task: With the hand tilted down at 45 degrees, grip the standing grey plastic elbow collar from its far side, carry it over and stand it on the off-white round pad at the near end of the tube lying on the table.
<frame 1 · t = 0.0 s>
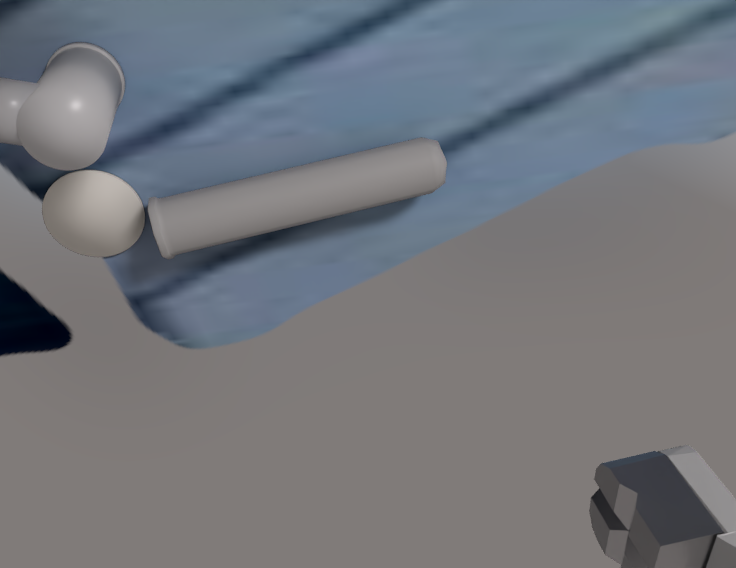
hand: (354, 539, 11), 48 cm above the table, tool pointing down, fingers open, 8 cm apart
tube: (301, 181, 60), on the table
elbow: (86, 79, 51), on the table
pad: (94, 214, 57), on the table
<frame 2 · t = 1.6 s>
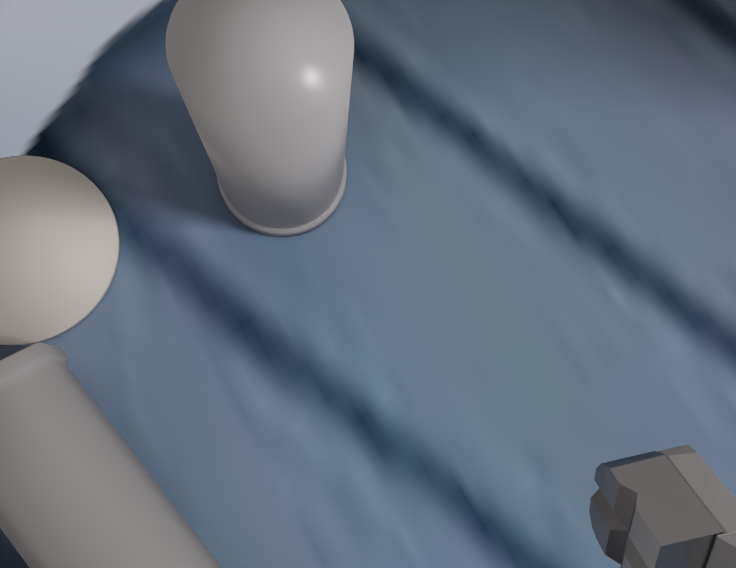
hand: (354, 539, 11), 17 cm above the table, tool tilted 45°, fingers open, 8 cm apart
elbow: (282, 176, 30), on the table
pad: (21, 249, 28), on the table
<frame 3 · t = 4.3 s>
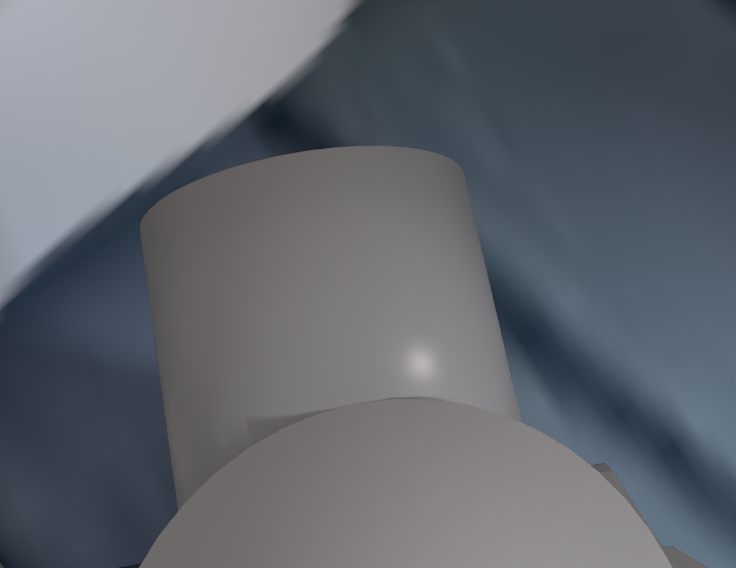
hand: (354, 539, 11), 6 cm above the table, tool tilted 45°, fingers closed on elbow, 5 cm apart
elbow: (340, 527, 16), on the table, touching gripper
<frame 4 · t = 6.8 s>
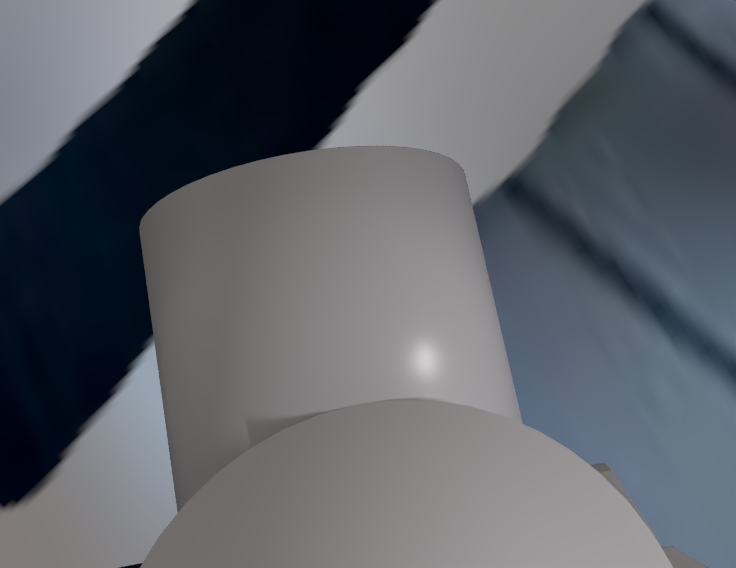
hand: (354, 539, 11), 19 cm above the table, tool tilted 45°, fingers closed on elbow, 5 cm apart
elbow: (341, 528, 16), point 14 cm above the table, touching gripper
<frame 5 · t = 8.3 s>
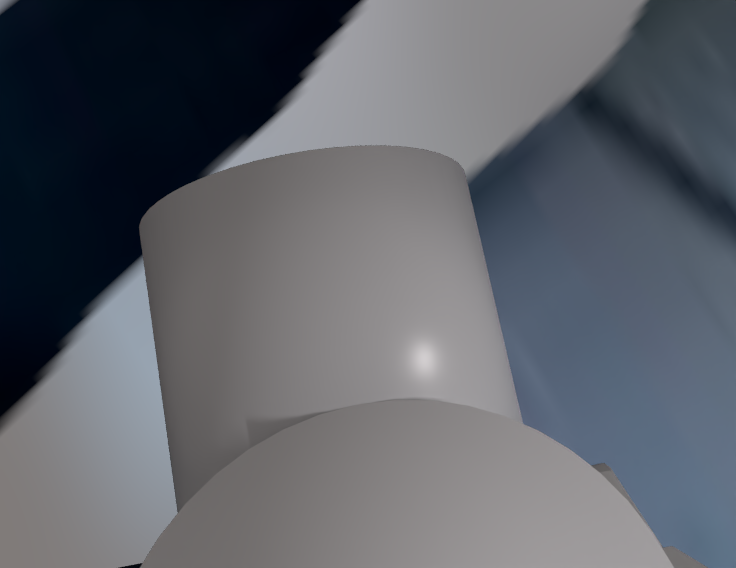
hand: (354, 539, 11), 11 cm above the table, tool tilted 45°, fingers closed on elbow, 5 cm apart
elbow: (341, 528, 16), point 5 cm above the table, touching gripper
when the fingers open (7 cm above the table, at t = 9.4 s): elbow drops 1 cm, resting on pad.
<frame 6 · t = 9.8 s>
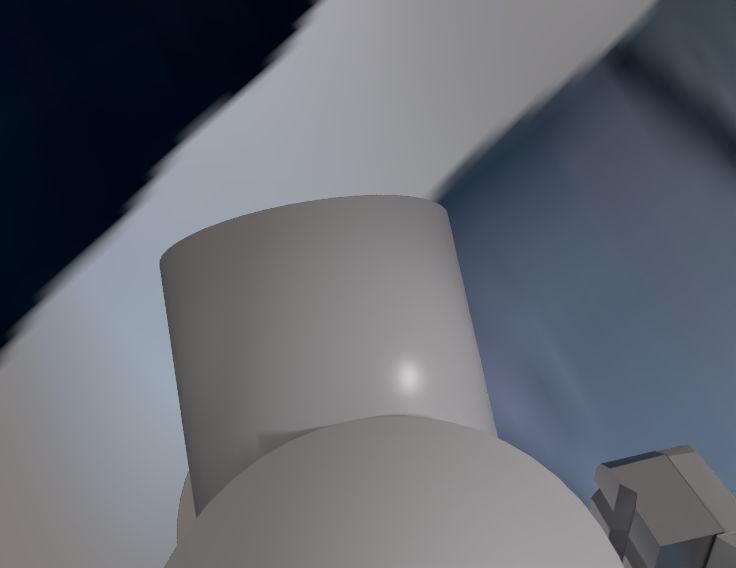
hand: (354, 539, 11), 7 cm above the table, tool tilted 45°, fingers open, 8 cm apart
elbow: (337, 524, 17), resting on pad
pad: (336, 520, 18), on the table
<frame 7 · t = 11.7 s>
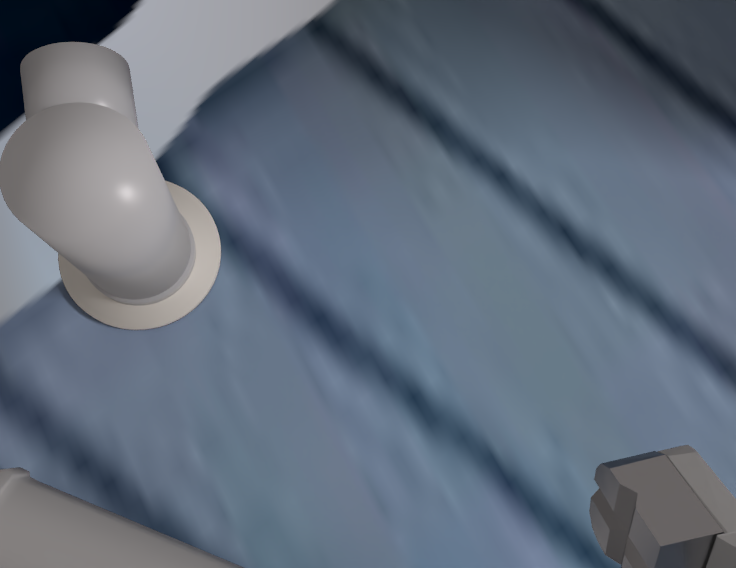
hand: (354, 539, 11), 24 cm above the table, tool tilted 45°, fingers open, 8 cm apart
elbow: (140, 252, 35), resting on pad
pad: (141, 253, 35), on the table
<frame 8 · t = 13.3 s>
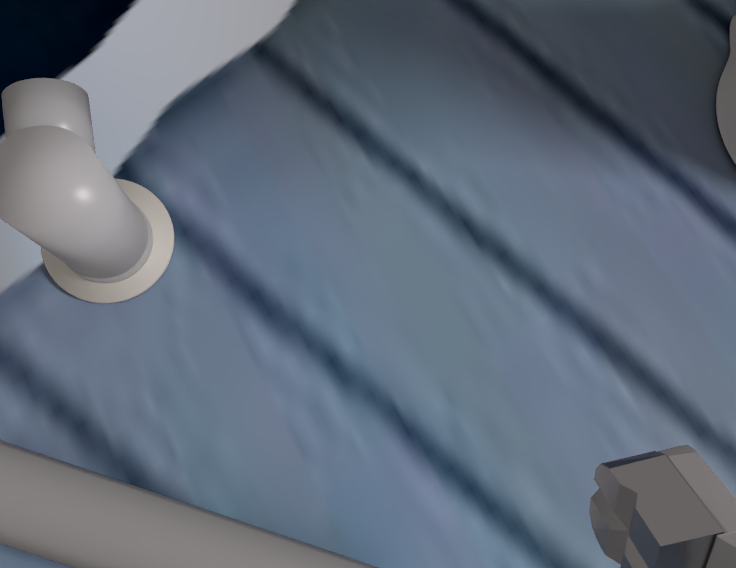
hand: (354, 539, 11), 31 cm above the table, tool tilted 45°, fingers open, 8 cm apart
tube: (190, 542, 40), on the table
elbow: (107, 240, 43), resting on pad
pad: (109, 240, 43), on the table
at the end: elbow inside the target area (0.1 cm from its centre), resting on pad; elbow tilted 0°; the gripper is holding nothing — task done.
